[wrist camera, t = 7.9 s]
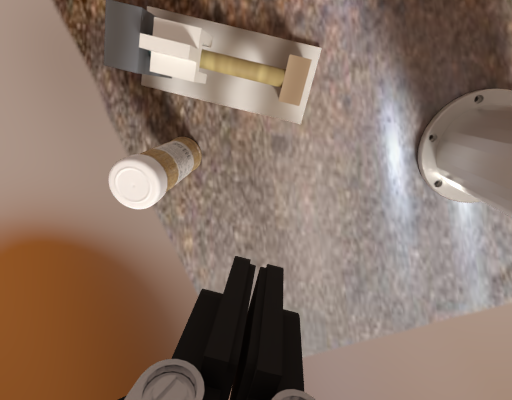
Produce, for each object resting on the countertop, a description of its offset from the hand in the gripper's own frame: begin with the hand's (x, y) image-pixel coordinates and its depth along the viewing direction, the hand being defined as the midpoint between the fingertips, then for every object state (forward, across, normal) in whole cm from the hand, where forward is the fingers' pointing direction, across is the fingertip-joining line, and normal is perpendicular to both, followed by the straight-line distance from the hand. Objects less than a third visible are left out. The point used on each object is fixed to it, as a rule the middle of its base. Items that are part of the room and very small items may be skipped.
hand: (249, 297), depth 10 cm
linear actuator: (+27, +8, -8) cm, 29 cm away
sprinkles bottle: (+27, +11, +3) cm, 30 cm away
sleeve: (+22, +11, -8) cm, 26 cm away
